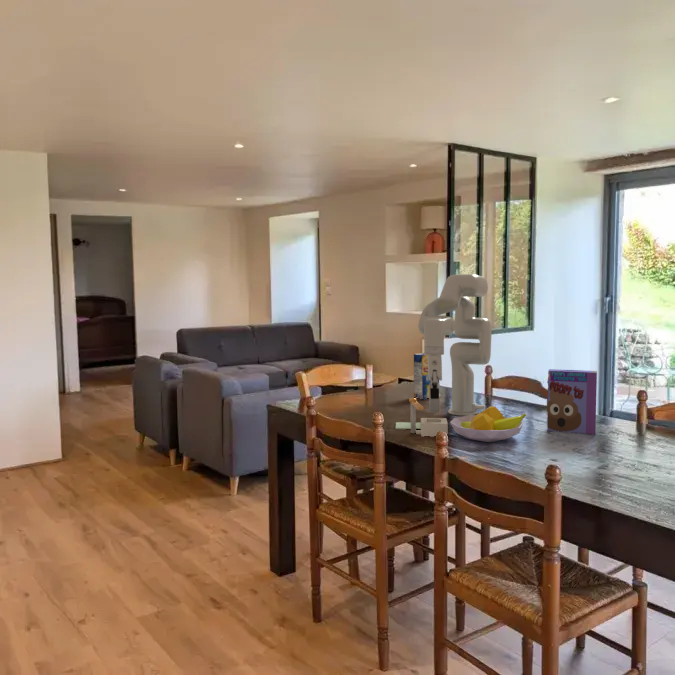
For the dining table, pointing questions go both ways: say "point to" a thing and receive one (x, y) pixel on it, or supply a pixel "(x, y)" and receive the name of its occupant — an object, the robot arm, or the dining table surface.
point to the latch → (416, 403)
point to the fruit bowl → (488, 425)
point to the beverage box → (421, 376)
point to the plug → (434, 401)
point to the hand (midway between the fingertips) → (434, 396)
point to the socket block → (428, 424)
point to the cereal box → (572, 401)
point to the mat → (406, 425)
